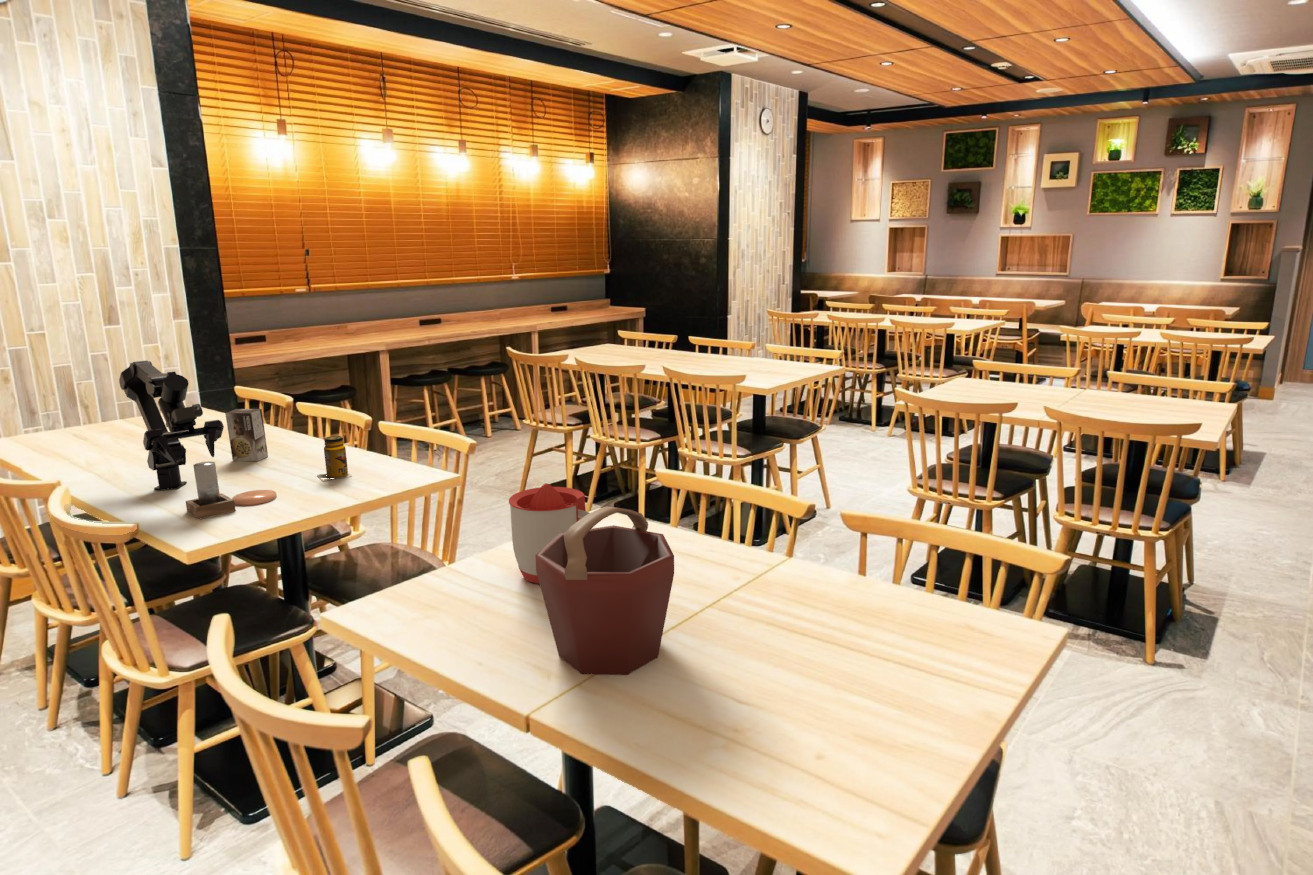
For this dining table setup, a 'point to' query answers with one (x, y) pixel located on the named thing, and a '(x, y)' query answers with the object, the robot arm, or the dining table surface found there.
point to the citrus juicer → (541, 521)
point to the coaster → (254, 497)
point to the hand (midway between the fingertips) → (194, 459)
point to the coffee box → (246, 434)
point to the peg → (207, 483)
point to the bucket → (607, 593)
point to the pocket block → (210, 507)
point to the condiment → (335, 458)
